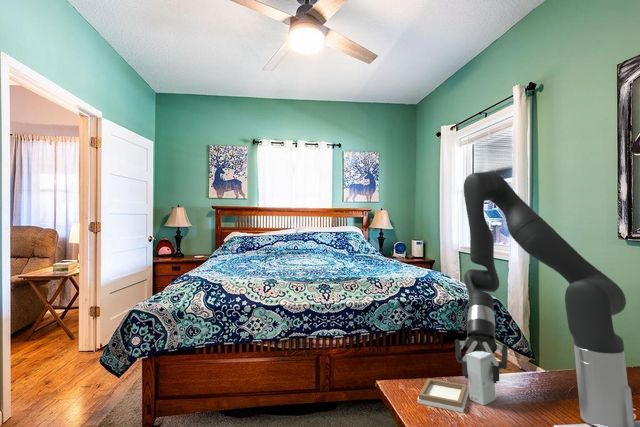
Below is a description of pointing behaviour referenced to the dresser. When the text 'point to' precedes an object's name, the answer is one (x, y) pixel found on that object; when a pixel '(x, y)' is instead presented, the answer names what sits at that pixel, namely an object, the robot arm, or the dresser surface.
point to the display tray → (444, 395)
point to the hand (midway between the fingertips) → (480, 379)
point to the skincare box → (480, 377)
